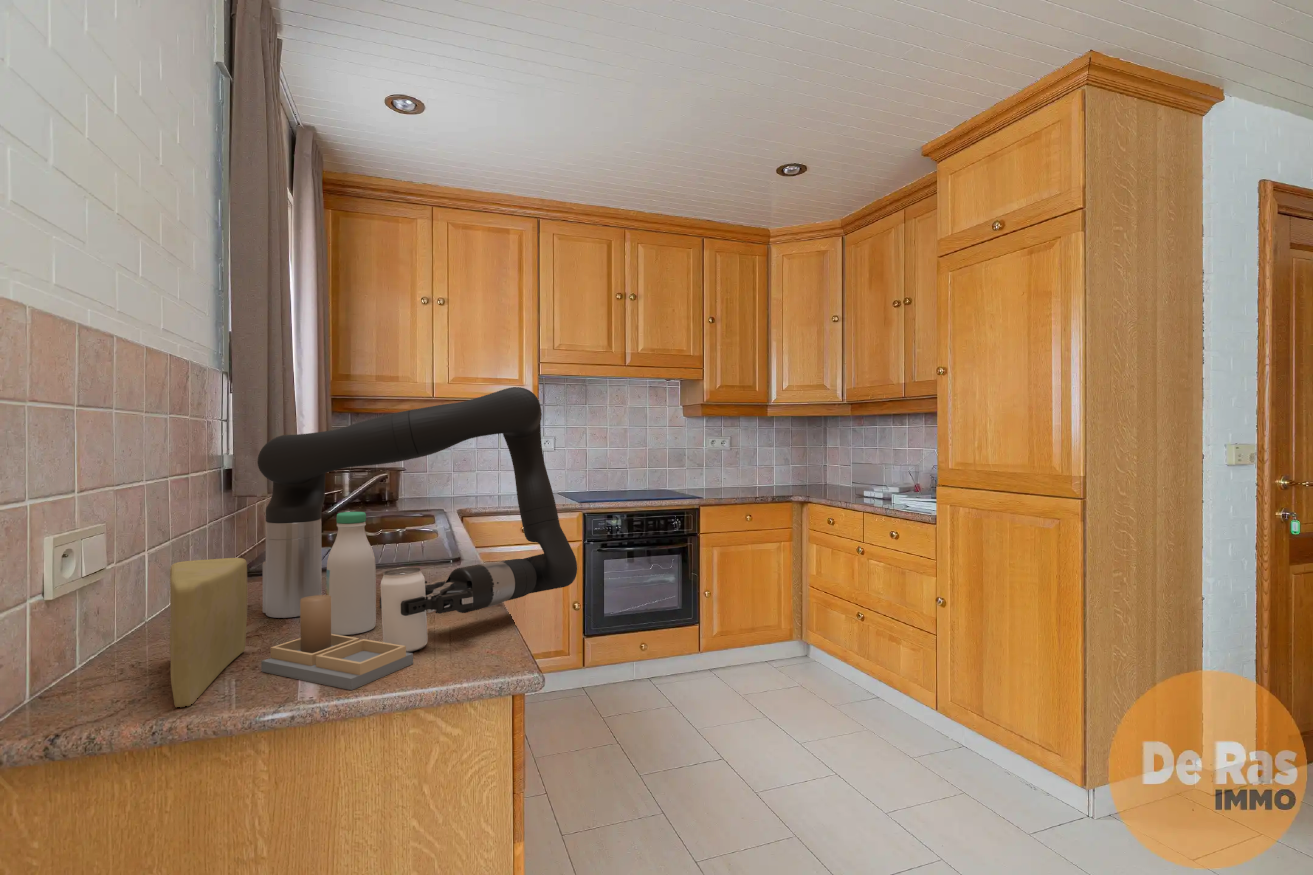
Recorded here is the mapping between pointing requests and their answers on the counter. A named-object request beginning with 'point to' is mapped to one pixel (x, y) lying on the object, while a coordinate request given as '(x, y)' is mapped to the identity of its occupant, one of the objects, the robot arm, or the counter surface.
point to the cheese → (205, 622)
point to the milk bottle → (351, 577)
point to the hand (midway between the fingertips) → (391, 605)
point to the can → (393, 592)
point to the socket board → (332, 652)
